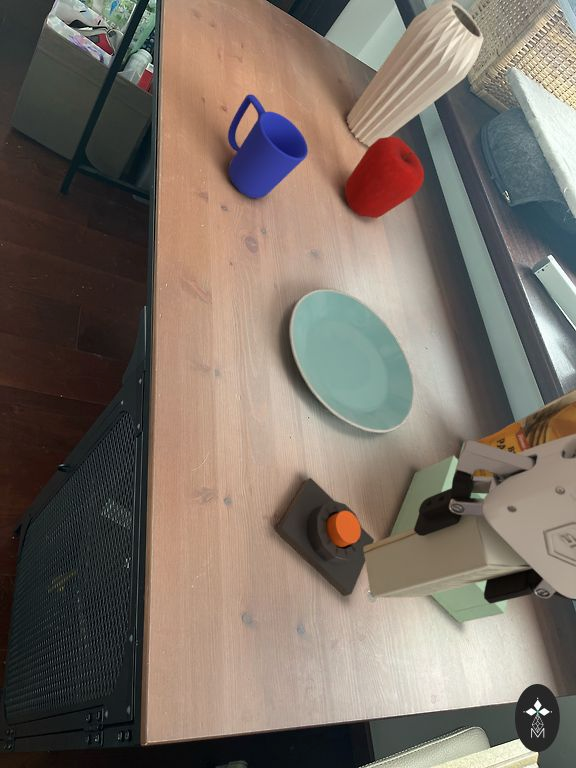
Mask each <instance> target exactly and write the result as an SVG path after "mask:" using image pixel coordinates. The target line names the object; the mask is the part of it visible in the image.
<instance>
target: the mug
mask: <svg viewBox="0 0 576 768" xmlns="http://www.w3.org/2000/svg"><path fill="white" fill-rule="evenodd" d="M250 105H252V106H253V108H254V109H255V111H256V113H257V120H256V121H255V123H254V125H253V126H252V128H251V129H250V131H249V132H248V133H247V136H246V137H245V138H244V140H243V141H242V142H241V143H242V144H241V145H240V146H239V145H238V142H237V140H236V134H237V129H238V127H239V124H240V122H241V121H242V119H243V117H244V116H245V114H246V112H247V111H248V109H249V107H250ZM227 141H228V144H229V147H230V148H231V149H232V150H233V151H235V152H236V153H235V155H234V156H233V158H232V160H231V161H230V163H229V167H228V175H229V179H230V181H231V183H232V184H233V186H234V187H235V189H237V191H239V192H240V193H241V194H243V195H244V196H246V197H248V198H251V199H261V198H264V197H265V196H267V195H268V194H269V193H270V192H272V191H273V190H274V189H275V188H276V187H277V186H278V185H279V184H280V183H281V182H282V181H283V180H284V179H285V178H286V177H287V176H288V175H289V174H290V173H291V172H292V171H293V170H294V169H296V168H297V167H298V166H299V165H300V164H301V163H302V162H303V161H304V160H305V159H306V158H307V156H308V153H309V150H308V149H309V147H308V144H307V141H306V139H305V137H304V136H303V134H302V132H301V131H300V129H299V128H298V127H297V126H296V125H295V124H294V123H293V122H292V121H291V120H290V119H288V118H287V117H285V116H284V115H282V114H280V113H278V112H275V111H266V110H265V108H264V107H263V104H262V103H261V102H260V101H259V99H258V98H257V96H255V95H254V94H252V93H251V94H247V95H246V96H245V97H244V99H243V101H242V102H241V104H240V106H239V107H238V109H237V111H236V113H235V114H234V116H233V119H232V121H231V122H230V125H229V128H228V131H227Z"/></svg>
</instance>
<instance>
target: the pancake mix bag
mask: <svg viewBox="0 0 576 768" xmlns="http://www.w3.org/2000/svg"><path fill="white" fill-rule="evenodd" d="M573 434H576V388H574V389H572V390H570V391H568V392H567V393H565V394H563V395H561V396H559V397H557V398H556V399H554V400H551V401H550V402H548V403H546V404H544V405H542V406H541V407H539V408H538V409H537V410H535V411H534V412H531V413H530V414H528V415H525V416H524V417H522V418H521V419H518V420H517V421H514V422H512V423H510V424H508V425H507V426H505V427H504V428H502V429H500V430H499V431H497V432H494V433H493V434H490V435H487V436H485V437H482V438H480V439H476V440H474V441H475V442H479V443H482V444H486V445H489V446H492V447H496V448H499V449H502V450H506V451H509V452H512V453H516V454H517V453H520V452H522V451H525V450H528V449H530V448H533V447H536V446H538V445H541V444H544V443H547V442H550V441H553V440H556V439H560V438H563V437H566V436H570V435H573ZM474 476H485V477H494V476H493V474H492V473H491V472H488V471H485V470H476V471H475V472H474Z"/></svg>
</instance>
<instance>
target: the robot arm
mask: <svg viewBox="0 0 576 768" xmlns="http://www.w3.org/2000/svg"><path fill="white" fill-rule="evenodd" d="M475 441H476V440H472V439H471V440H470V439H467V440H465V441H463V443H462V446H461V449H460V453H459V455H458V458H457V459H458V463H457V466H456V470H455V473H454V477H453V481H452V488H451V489H448V490H446V491H443V492H441V493H439V494H436V495H434V496H431V497H429V498H427V499H425V500H424V501H423V502H422V504H421V505H420V508H419V516H418V519H417V522H416V524H415V527H414V531H415V532H416V533H417V534H418V535H419V536H421V535H422V536H425V535H427V534H430V533H433V532H436V531H438V530H441V529H444V528H447V527H450V526H452V525H455V524H457V523H458V522H459V521H460V519H461V515H472V516H485V518H486V520H487V521H488V523H489V524H490V525H491V527H492V528H493V529H494V530H495V531H496V532H497V533H498V534H499V535H500V536H501V537H502V538H503V539H504V540H505V541H506V542H507V543H508V544H509V545H510V546H511V547H512V548H513V549H514V550H515V551H516V552H517V553H518V554H519V555H520V556H521V557H522V558H523V559H524V560H525V561H526V562H527V563H528V564H529V565H530V566H531V567H532V569H529V570H525V571H521V572H517V573H513V574H509V575H505V576H501V577H497V578H493V579H489V580H487V581H486V586H485V591H484V599H485V600H487V601H488V602H489V603H490V604H492V603H496V602H500V601H504V600H507V601H509V600H511V599H512V600H513V599H517V598H521V597H525V596H529V595H532V594H534V595H535V596H536V597H538V598H539V599H550V598H551V597H552V596H555V597H558V598H562V599H566V600H569V601H574V602H576V434H573V435H570V436H566V437H563V438H560V439H556V440H553V441H550V442H547V443H544V444H541V445H538V446H536V447H533V448H530V449H528V450H525V451H522V452H520V453H517V454H516V453H512V452H509V451H506V450H502V449H499V448H496V447H492V446H489V445H486V444H482V443H479V442H475ZM476 470H485V471H488V472H491V473H492V474H493V476H494V477H485V476H474V472H475V471H476ZM471 493H483V494H487V495H486V497H485V499H480V498H470V497H471Z"/></svg>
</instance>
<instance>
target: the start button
mask: <svg viewBox="0 0 576 768" xmlns="http://www.w3.org/2000/svg"><path fill="white" fill-rule="evenodd" d="M357 518H358V517H357ZM357 518H356V517H355V516H354V515H353V514H352V513H351V512H349V511H341V512H339V513H337V514H334V515H332V516H330V517H329V518H328V520H327V523H326V532H327V534H328V537H329V539H330V540H331V542H332V543H333V544H335V545H336V546H339V547H344V546H347V545H349V544H352V543H355V542H356V541H357V540H358V539H359V537H360V534H361V528H360V525H361V523H360V521H359V519H358V520H357ZM358 521H359V522H358ZM359 523H360V524H359Z"/></svg>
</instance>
